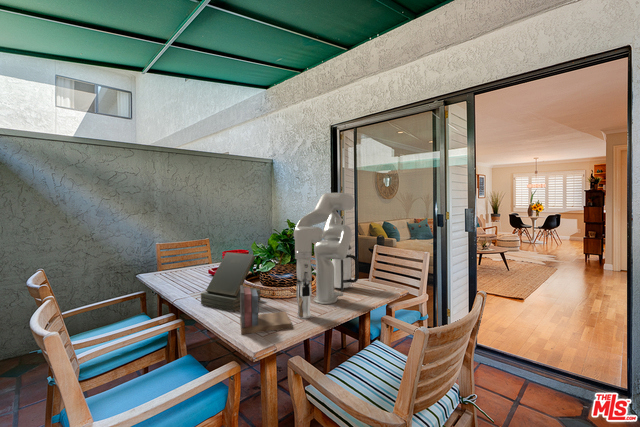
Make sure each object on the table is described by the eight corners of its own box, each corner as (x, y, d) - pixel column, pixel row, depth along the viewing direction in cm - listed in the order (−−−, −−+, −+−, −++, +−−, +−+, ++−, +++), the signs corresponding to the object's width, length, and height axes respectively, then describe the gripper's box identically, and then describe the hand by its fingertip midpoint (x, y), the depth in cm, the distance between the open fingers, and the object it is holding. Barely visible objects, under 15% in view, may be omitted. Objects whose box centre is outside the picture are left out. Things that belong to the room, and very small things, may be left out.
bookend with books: (285, 315, 135) (285, 280, 135) (291, 327, 122) (291, 289, 122) (240, 321, 130) (239, 284, 129) (241, 334, 116) (240, 293, 116)
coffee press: (328, 292, 171) (328, 240, 170) (328, 284, 187) (328, 237, 186) (358, 292, 171) (358, 240, 170) (356, 284, 187) (356, 237, 186)
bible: (200, 305, 152) (199, 256, 151) (229, 294, 169) (228, 251, 168) (234, 312, 141) (233, 260, 140) (261, 300, 158) (260, 253, 158)
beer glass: (303, 312, 140) (303, 280, 139) (315, 315, 135) (314, 283, 135) (293, 316, 134) (292, 283, 134) (304, 320, 130) (304, 286, 130)
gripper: (316, 257, 127) (316, 297, 127) (306, 252, 143) (306, 288, 143) (299, 258, 124) (299, 299, 125) (291, 253, 141) (291, 289, 141)
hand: (303, 293), depth 134 cm, fingers open, 9 cm apart
